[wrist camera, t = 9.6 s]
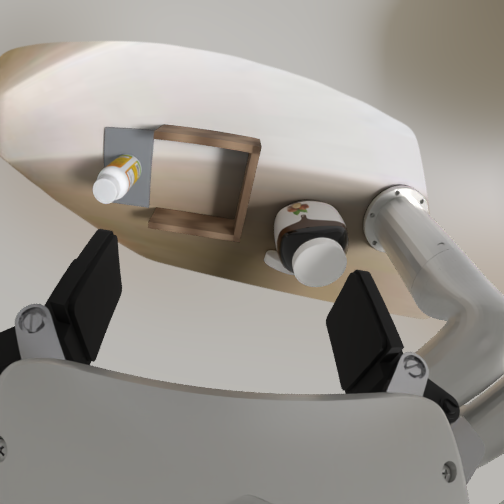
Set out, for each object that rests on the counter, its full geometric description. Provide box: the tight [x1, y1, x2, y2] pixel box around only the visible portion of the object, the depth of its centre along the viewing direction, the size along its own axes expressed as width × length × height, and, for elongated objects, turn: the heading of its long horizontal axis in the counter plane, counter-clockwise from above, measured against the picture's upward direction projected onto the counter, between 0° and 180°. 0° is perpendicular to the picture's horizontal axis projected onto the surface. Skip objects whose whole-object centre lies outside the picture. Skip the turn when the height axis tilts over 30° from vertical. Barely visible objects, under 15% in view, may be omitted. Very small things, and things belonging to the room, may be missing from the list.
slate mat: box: [104, 127, 154, 208], centre depth 38 cm, size 8×12×1 cm, turn 168°
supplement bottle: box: [93, 154, 142, 204], centre depth 34 cm, size 5×5×8 cm
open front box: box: [148, 125, 261, 242], centre depth 38 cm, size 13×14×4 cm
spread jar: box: [264, 200, 348, 287], centre depth 41 cm, size 12×11×12 cm
